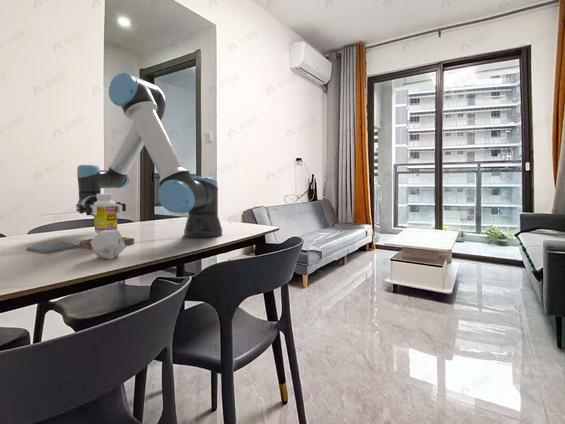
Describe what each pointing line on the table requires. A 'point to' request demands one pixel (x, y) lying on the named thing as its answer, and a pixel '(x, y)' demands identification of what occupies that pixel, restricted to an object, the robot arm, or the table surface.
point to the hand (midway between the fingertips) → (108, 209)
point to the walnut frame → (88, 245)
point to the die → (108, 244)
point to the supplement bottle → (105, 213)
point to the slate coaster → (52, 247)
